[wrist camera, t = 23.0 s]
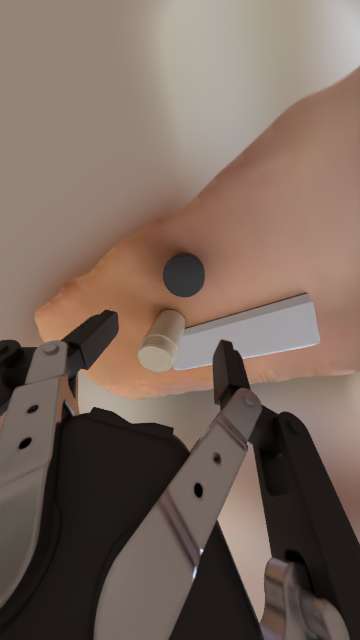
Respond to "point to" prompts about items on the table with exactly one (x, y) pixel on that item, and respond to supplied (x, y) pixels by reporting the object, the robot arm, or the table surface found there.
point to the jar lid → (184, 275)
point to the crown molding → (252, 332)
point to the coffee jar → (162, 341)
